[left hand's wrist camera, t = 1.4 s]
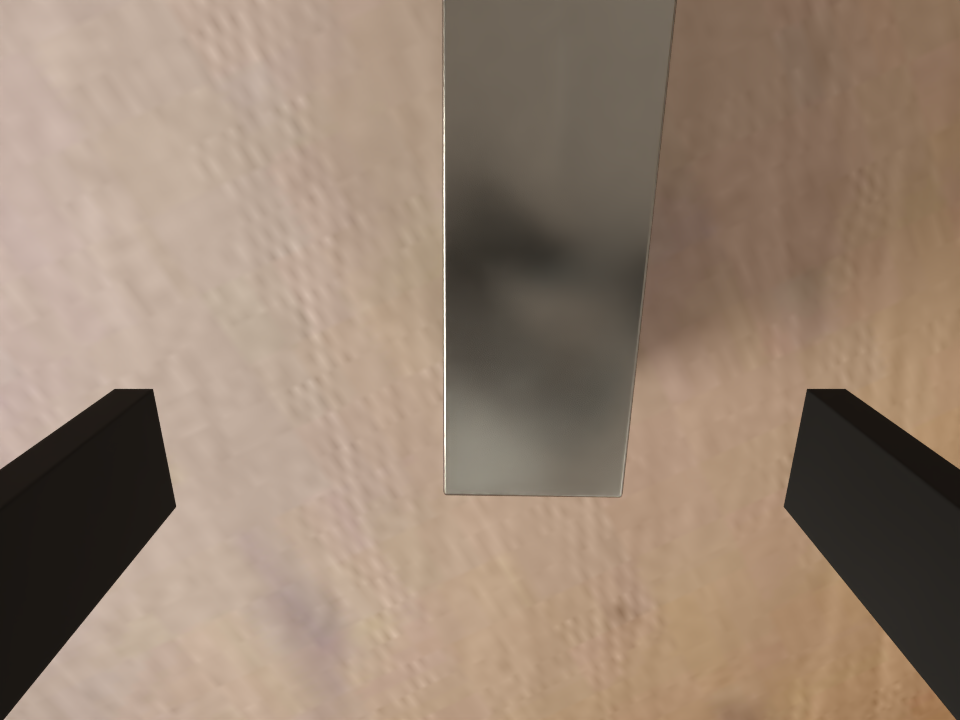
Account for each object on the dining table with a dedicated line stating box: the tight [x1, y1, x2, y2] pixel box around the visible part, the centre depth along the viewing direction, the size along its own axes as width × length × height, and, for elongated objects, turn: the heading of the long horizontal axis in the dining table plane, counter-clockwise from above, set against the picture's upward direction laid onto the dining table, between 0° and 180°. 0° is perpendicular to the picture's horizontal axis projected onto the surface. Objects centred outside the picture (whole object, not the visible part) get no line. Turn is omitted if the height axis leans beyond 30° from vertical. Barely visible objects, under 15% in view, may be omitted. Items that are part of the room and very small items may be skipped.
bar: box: [442, 0, 677, 497], centre depth 18 cm, size 25×5×9 cm, turn 179°
